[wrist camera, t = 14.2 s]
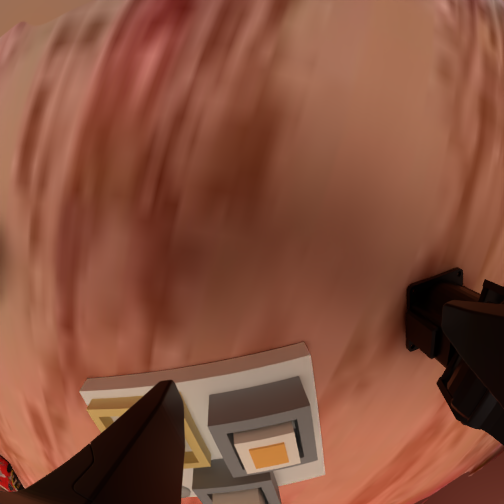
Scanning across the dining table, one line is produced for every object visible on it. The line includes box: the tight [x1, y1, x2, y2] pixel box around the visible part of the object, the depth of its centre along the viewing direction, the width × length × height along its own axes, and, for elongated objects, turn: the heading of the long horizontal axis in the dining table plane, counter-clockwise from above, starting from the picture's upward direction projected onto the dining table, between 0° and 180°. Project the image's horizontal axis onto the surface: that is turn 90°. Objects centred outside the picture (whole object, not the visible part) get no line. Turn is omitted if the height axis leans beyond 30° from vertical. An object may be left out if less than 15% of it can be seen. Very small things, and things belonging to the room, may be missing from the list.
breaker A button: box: [233, 421, 301, 474], centre depth 19 cm, size 4×4×4 cm
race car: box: [0, 457, 24, 492], centre depth 23 cm, size 13×5×4 cm, turn 165°
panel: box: [79, 342, 325, 504], centre depth 21 cm, size 19×17×6 cm
